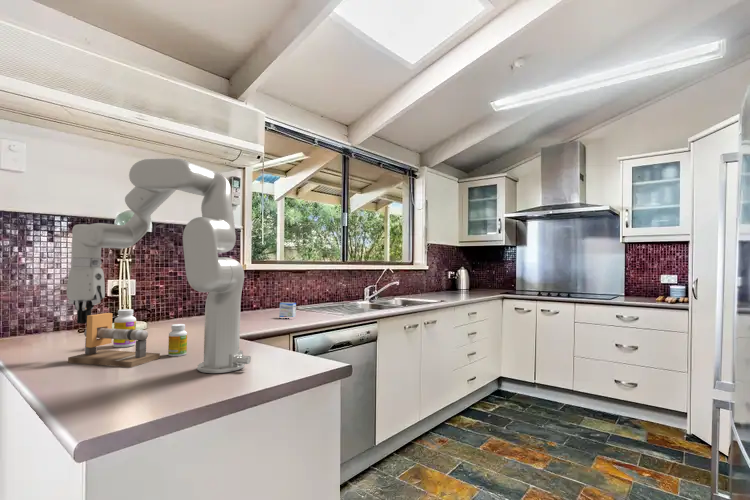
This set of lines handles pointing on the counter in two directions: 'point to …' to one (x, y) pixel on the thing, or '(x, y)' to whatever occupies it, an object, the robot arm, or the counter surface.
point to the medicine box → (287, 310)
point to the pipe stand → (117, 356)
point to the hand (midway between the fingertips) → (83, 322)
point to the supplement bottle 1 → (124, 327)
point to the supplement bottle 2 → (177, 340)
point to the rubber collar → (92, 326)
